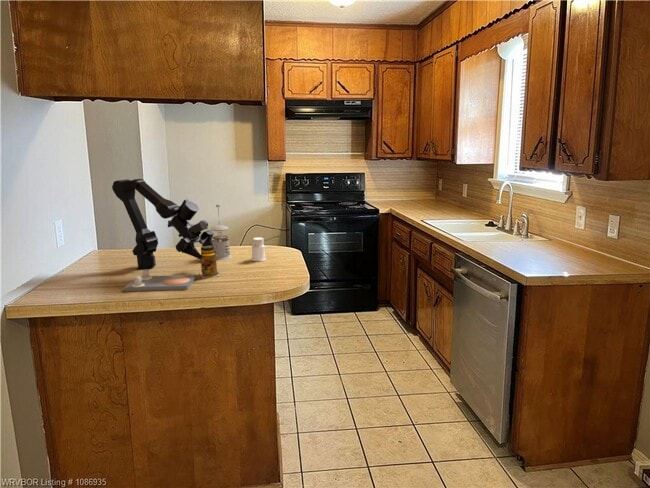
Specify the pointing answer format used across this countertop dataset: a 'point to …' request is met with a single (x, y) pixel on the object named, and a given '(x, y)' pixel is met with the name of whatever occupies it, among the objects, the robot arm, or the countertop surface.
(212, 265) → the condiment
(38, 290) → the countertop surface
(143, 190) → the robot arm
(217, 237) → the french press
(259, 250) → the downlight
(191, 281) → the board
